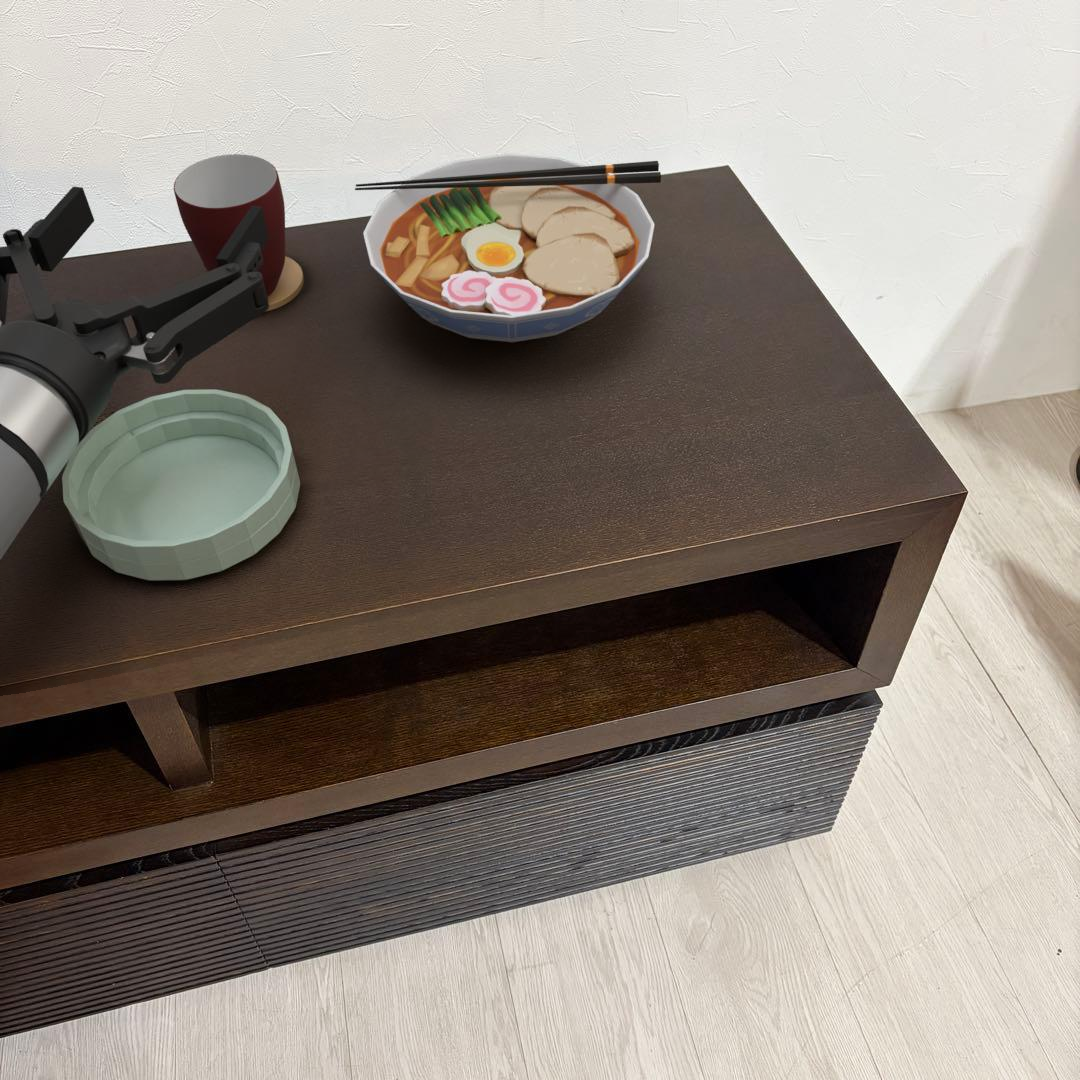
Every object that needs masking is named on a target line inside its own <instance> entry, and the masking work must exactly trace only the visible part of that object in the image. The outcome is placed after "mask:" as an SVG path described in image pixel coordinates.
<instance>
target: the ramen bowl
mask: <svg viewBox="0 0 1080 1080" xmlns="http://www.w3.org/2000/svg"><path fill="white" fill-rule="evenodd" d="M659 168H660V163H659V161H658V160H650V161H649V160H647V161H637V162H626V163H625V162H624V163H623V162H622V163H612V164H598V165H597V164H596V165H584V164H581V163H577V162H574V161H571V160H567V159H564V158H562V157H554V156H553V157H552V156H541V155H529V154H528V155H526V154H516V153H503V154H496V155H489V156H481V157H473V158H466V159H458V160H454V161H452V162H449V163H445V164H443V165H440V166H437V167H434V168H432V169H429V170H426V171H424V172H421V173H419V174H416V175H413V176H410V177H409V178H408V179H406V180H394V181H383V182H369V183H358V184H355V188H354V191H377V190H378V191H379V190H382V191H383V190H392V191H391V192H389V193H388V194H387V195H385V196H384V197H383V198H382V199H381V200H379V201H378V202H377V204H376V206H375V208H374V209H373V213H372V214H371V215H370V219H369V220H368V222H367V224H366V227H365V229H364V230H363V232H362V234H363V238H364V243H365V246H366V250H367V255H368V259H369V263H370V266H371V267H372V268H373V270H374V271H375V272H376V274H377V275H378V277H380V280H382V281H383V282H384V284H386V285H387V286H388V288H390V289H391V290H392V291H393V292H394V293H395V294H396V295H398V296H399V298H401V300H402V301H404V303H406V304H407V305H408V306H409V308H411V309H412V310H413V311H414V312H415V313H416V314H418V315H419V316H420V317H421V318H422V319H424V320H426V321H427V322H429V323H430V324H432V325H434V326H437V327H439V328H442V329H444V330H448V331H450V332H453V333H455V334H458V335H460V336H464V337H466V338H468V339H474V340H475V339H477V340H486V341H495V342H506V343H517V342H523V341H529V340H530V341H531V340H535V339H542V338H547V337H553V336H558V335H559V334H562V333H565V332H567V331H569V330H571V329H573V328H576V327H578V326H580V325H581V324H584V323H586V322H588V321H591V320H592V319H594V318H595V317H596V316H598V315H600V314H601V313H603V311H604V310H605V309H606V308H607V307H608V306H609V305H610V303H611V302H613V300H614V299H615V298H616V297H617V296H618V295H619V294H620V293H621V292H622V291H623V289H624V288H625V287H626V286H628V284H629V283H630V282H631V281H632V280H633V279H634V278H635V277H636V276H637V274H638V273H639V272H640V271H641V269H642V267H643V266H644V265H645V263H646V261H647V260H648V258H649V256H650V252H651V246H652V245H651V244H652V241H653V236H654V235H653V234H654V230H655V225H656V224H655V222H654V221H653V219H652V217H651V215H650V214H649V213H650V212H648V210H647V208H646V206H645V205H644V203H643V201H642V199H641V197H640V196H639V194H637V192H635V191H633V190H632V189H631V188H629V187H627V186H626V184H661V183H662V174H661V173H662V172H661V171H660V170H659Z"/></svg>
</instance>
